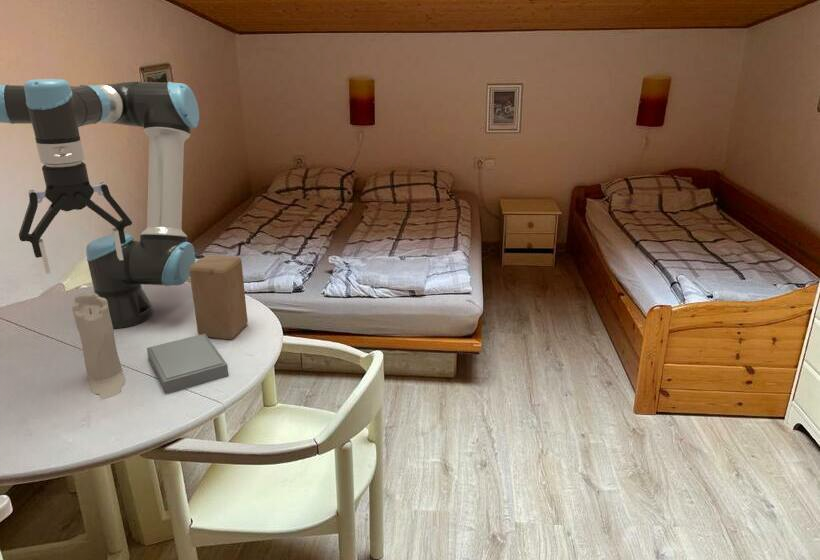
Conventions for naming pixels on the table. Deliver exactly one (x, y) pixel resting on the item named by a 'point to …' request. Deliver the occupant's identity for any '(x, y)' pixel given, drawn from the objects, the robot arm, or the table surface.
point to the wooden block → (218, 296)
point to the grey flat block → (186, 363)
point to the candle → (98, 345)
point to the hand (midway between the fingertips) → (85, 264)
